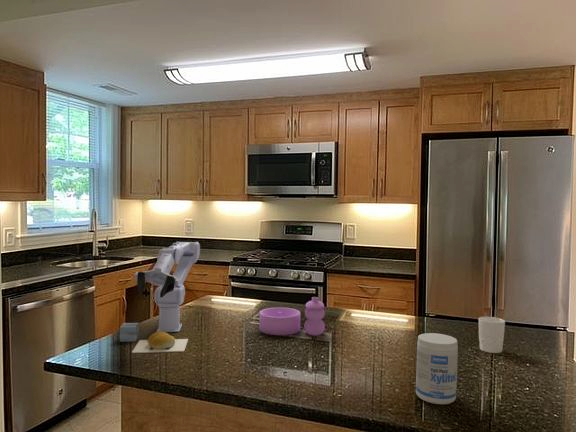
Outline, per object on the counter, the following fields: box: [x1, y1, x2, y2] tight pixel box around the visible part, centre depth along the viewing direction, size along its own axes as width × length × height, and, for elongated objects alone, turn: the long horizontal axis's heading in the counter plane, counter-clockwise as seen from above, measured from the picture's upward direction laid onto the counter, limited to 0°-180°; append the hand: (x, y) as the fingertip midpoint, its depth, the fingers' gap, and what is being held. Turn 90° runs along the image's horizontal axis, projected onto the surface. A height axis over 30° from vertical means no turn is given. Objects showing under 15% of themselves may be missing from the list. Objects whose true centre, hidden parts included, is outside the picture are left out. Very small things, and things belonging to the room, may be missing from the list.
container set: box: [258, 296, 326, 336], centre depth 165 cm, size 25×15×13 cm, turn 68°
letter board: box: [131, 338, 189, 354], centre depth 146 cm, size 12×16×1 cm
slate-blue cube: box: [119, 322, 139, 343], centre depth 153 cm, size 5×5×5 cm
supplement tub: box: [415, 332, 459, 405], centre depth 110 cm, size 10×10×15 cm
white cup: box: [478, 316, 506, 354], centre depth 146 cm, size 8×8×10 cm
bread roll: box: [147, 331, 176, 349], centre depth 146 cm, size 8×9×4 cm
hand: (149, 293), depth 143 cm, fingers open, 7 cm apart
